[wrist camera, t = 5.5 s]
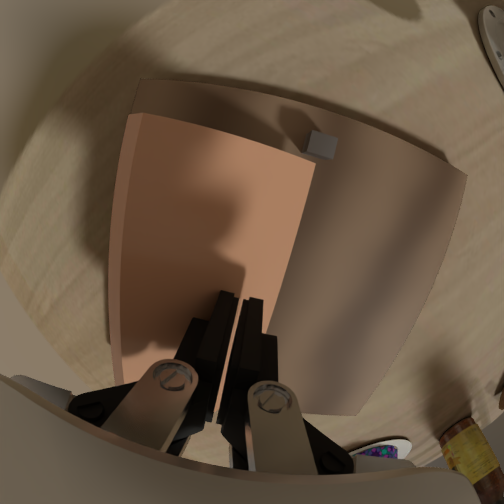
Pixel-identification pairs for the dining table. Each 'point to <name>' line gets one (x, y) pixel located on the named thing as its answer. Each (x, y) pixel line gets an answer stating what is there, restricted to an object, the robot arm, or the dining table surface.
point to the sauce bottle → (474, 460)
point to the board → (337, 235)
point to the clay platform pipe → (501, 401)
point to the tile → (194, 233)
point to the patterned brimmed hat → (386, 449)
